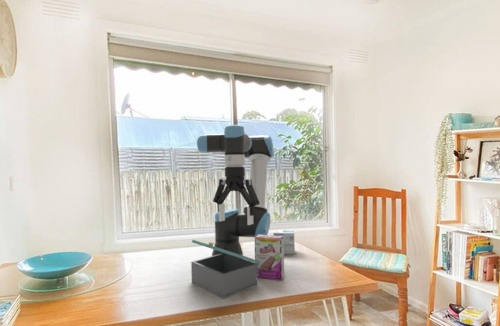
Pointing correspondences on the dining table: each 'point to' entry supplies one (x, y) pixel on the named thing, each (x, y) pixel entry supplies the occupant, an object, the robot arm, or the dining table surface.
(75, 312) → the dining table surface
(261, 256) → the candy bar box
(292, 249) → the light bulb box
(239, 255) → the lid
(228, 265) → the chest
